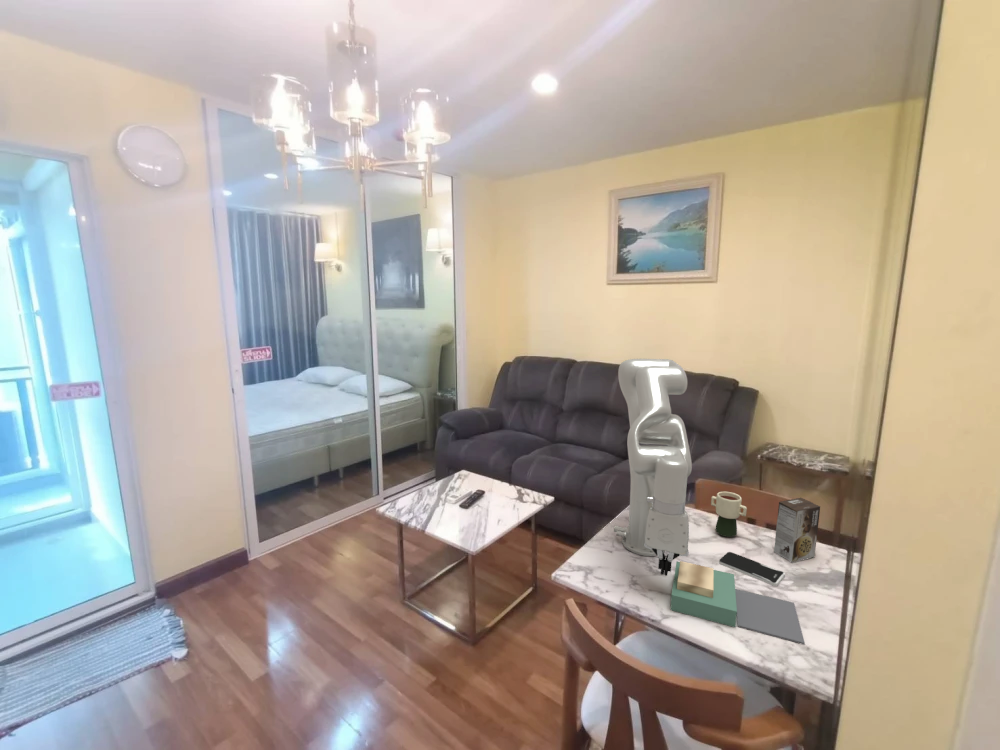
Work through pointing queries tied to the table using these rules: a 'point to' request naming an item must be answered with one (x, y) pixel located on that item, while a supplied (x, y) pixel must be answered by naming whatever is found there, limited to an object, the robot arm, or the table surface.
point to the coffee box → (796, 529)
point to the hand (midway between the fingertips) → (664, 572)
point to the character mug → (728, 512)
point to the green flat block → (708, 600)
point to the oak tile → (695, 579)
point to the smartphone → (752, 568)
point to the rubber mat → (768, 616)
